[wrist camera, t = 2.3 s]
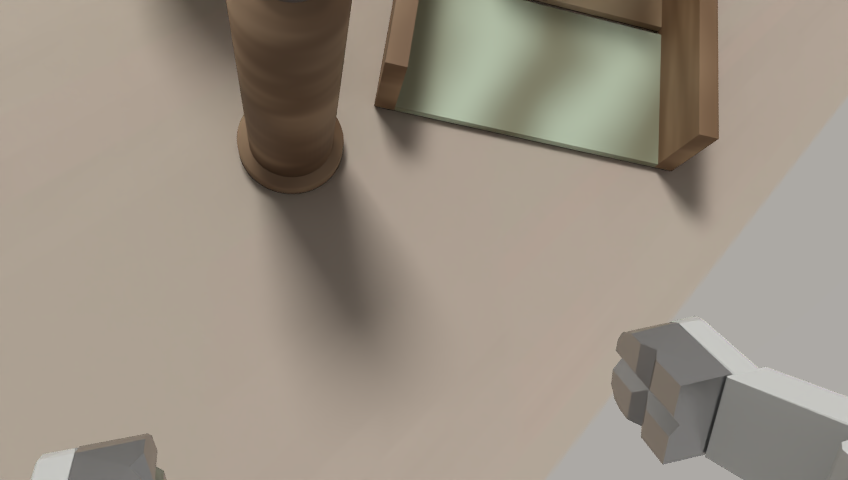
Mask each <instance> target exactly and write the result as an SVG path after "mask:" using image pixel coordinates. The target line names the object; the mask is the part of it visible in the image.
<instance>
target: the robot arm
mask: <svg viewBox="0 0 848 480" xmlns="http://www.w3.org/2000/svg"><path fill="white" fill-rule="evenodd" d="M616 351H617V353H618V354H619V355H620V356H621V358H622V359H621V360H620V361H619V362H618V364H617V365H616V366H615V367H614V369H613V373H612V382H611V385H612V389H613V394H614V399H615V401H616V402H617V405H618V407H619V409H620V410H621V412H622V413H623V414H624V416H625V417H626V418H627V419H628V420H630V421H632V422H634V423H636V424H639V425H641V426H642V429H641V438H642V439H643V440H644V441H645V442H646V444H647V445H648V446H649V448H650V449H651V450H652V451H653V452H654V454H655V455H656V457H657V458H658V459H659V460H660V462H661V463H662V464H667V463H671V462H675V461H680V460H684V459H688V458H692V457H696V456H701V455H704V454H706V455H705V457H706V458H708V459H710V460H711V461H713V462H715V463H716V464H718V465H720V466H721V467H723V468H725V469H726V470H728V471H730V472H731V473H733V474H735V475H736V476H738V477H740V478H742V479H743V480H848V397H847V396H845V395H842V394H839V393H836V392H833V391H831V390H828V389H825V388H823V387H820V386H817V385H814V384H812V383H809V382H806V381H803V380H801V379H798V378H795V377H793V376H789V375H787V374H784V373H781V372H779V371H776V370H773V369H770V368H768V367H764V368H761V369H759V368H758V367H757V366H756V365H755V364H753V363H752V362H751V361H750V360H749V359H748V358H747V357H745V356H744V355H743V354H742V353H741V352H740V351H739V350H737V349H736V348H735V347H734V346H733V345H732V344H731V343H729V342H728V341H727V340H726V339H725V338H724V337H723V336H721V335H720V334H719V333H718V332H717V331H716V330H714V329H713V328H712V327H711V326H710V325H709V324H708V323H707V322H705V321H704V320H703V319H701V318H698V317H695V316H693V317H689V318H685V319H680V320H676V321H671V322H670V323H664V324H659V325H655V326H650V327H646V328H641V329H637V330H632V331H628V332H623V333H622V334H621V335H620V337H619V339H618V342H617V347H616ZM156 462H157V448H156V445H155V443H154V440H153V437H152V435H150V434H143V435H137V436H132V437H127V438H122V439H116V440H111V441H106V442H100V443H95V444H90V445H85V446H80V447H79V448H73V449H67V450H62V451H57V452H51V453H46V454H43V455H42V456H41V457H40V458H39V460H38V461H37V462H36V464H35V467H34V471H33V474H32V477H31V480H166V476H165V473H164V471H163V470H161V469H159V468H158V467H156Z"/></svg>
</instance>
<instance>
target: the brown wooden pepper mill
mask: <svg viewBox="0 0 848 480" xmlns="http://www.w3.org/2000/svg"><path fill="white" fill-rule="evenodd" d="M351 3H352V0H226V4H227V10H228V16H229V22H230V29H231V35H232V41H233V47H234V54H235V60H236V66H237V72H238V79H239V85H240V91H241V98H242V104H243V110H244V115H243V117H242V119H241V121H240V124H239V127H238V132H237V144H238V150H239V155H240V158H241V161H242V164H243V166H244V167H245V169H246V171H247V172H248V173H249V175H250V176H251V177H252V178H253V179H254V180H255V181H257V182H258V183H259V184H261V185H262V186H264V187H266V188H268V189H270V190H273V191H276V192H280V193H287V194H297V193H303V192H308V191H311V190H313V189H316V188H317V187H319V186H321V185H322V184H324V183H325V182H326V181H328V180H329V179H330V178H331V177H332V175H333V174H334V173H335V171H336V170H337V168H338V166H339V163H340V160H341V157H342V151H343V143H344V142H343V132H342V128H341V125H340V123H339V121H338V119H337V117H336V115H337V107H338V100H339V92H340V85H341V78H342V70H343V63H344V55H345V48H346V40H347V33H348V26H349V18H350V11H351Z"/></svg>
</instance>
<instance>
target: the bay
mask: <svg viewBox="0 0 848 480" xmlns="http://www.w3.org/2000/svg"><path fill="white" fill-rule="evenodd" d="M535 1H539V2H543V3H547V4H551V5H555V6H559V7H563V8H567V9H571V10H575V11H579V12H583V13H587V14H591V15H594V16H598V17H602V18H606V19H610V20H614V21H618V22H622V23H626V24H630V25H634V26H638V27H642V28H646V29H650V30H654V31H658V34H656V33H652V32H648V31H644V30H640V29H636V28H632V27H628V26H624V25H620V24H616V23H612V22H609V21H605V20H601V19H597V18H593V17H589V16H585V15H581V14H577V13H573V12H569V11H565V10H561V9H557V8H553V7H549V6H545V5H541V4H537V3H533V2H529V1H525V0H393V5H392V11H391V16H390V22H389V27H388V33H387V38H386V44H385V49H384V55H383V60H382V66H381V72H380V77H379V83H378V88H377V94H376V99H375V105H374V106H377V107H382V108H386V109H391V110H395V111H400V112H405V113H409V114H414V115H418V116H423V117H427V118H432V119H436V120H441V121H446V122H450V123H455V124H459V125H464V126H468V127H473V128H477V129H482V130H487V131H491V132H496V133H500V134H505V135H509V136H514V137H519V138H523V139H528V140H532V141H537V142H541V143H546V144H550V145H555V146H560V147H564V148H569V149H573V150H578V151H582V152H587V153H591V154H596V155H601V156H605V157H610V158H614V159H619V160H623V161H628V162H633V163H637V164H642V165H646V166H651V167H655V168H660V169H664V170H669V171H672V170H674V169H675V168H676V167H678V166H679V165H681V164H682V163H684V162H685V161H687V160H688V159H690V158H691V157H693V156H694V155H696V154H697V153H698V152H700V151H701V150H703V149H704V148H706V147H707V146H709V145H710V144H712V143H713V142H715V141H716V140H718V139H719V115H718V0H535Z"/></svg>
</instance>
